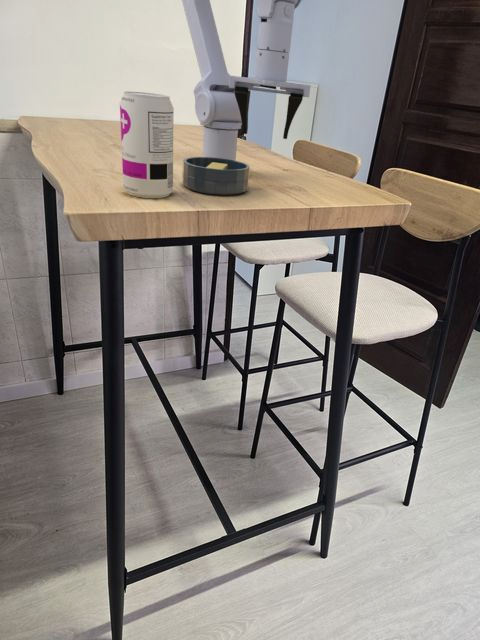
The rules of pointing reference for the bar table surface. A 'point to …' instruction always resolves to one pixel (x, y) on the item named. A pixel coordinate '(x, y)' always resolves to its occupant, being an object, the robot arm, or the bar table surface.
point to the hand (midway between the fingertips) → (265, 135)
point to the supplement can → (147, 144)
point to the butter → (218, 166)
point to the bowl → (215, 176)
